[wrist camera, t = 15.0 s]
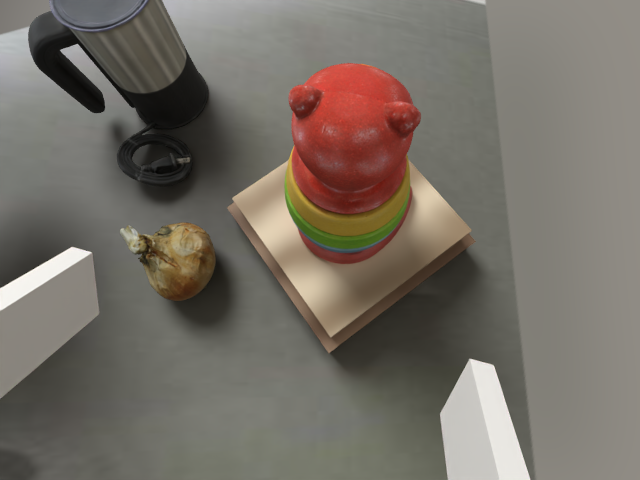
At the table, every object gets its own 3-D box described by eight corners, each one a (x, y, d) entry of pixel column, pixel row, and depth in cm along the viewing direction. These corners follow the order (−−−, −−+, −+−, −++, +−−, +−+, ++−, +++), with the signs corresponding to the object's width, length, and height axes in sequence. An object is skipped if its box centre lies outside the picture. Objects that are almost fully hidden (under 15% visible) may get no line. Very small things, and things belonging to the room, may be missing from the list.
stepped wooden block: (234, 216, 41) (217, 196, 35) (361, 130, 43) (365, 98, 38) (329, 352, 37) (328, 354, 31) (465, 248, 39) (487, 232, 33)
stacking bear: (416, 183, 35) (493, 29, 18) (386, 283, 32) (442, 217, 15) (309, 152, 36) (285, -19, 19) (273, 246, 34) (207, 147, 17)
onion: (161, 312, 39) (117, 305, 31) (151, 242, 41) (108, 218, 33) (231, 293, 39) (205, 282, 31) (217, 224, 41) (190, 197, 33)
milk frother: (185, 54, 48) (119, -69, 33) (254, 137, 44) (214, 38, 30) (90, 115, 46) (-22, 13, 31) (154, 207, 42) (60, 138, 28)
